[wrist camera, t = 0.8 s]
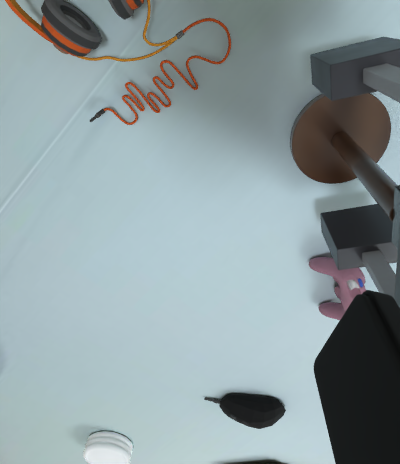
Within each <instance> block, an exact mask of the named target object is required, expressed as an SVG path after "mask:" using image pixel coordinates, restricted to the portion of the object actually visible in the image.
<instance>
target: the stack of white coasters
mask: <svg viewBox="0 0 400 464" xmlns="http://www.w3.org/2000/svg"><path fill="white" fill-rule="evenodd" d="M132 451H133V445H132V443H131V441H130V440H129V439H128V438H127V437H125V436H123V435H121V434H118V433H115V432H109V431H101V432H96V433H94V434H92V435H90V436H89V438H88V439H87V443H86V445H85V449H84V451H83V456H84V458H85V460H86V461H87V462H88V463H89V464H129V463H130V461H131V456H132Z"/></svg>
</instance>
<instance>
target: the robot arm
mask: <svg viewBox="0 0 400 464" xmlns="http://www.w3.org/2000/svg"><path fill="white" fill-rule="evenodd" d="M314 374H315V378H316V382H317V387H318V391H319V395H320V399H321V404H322V408H323V412H324V416H325V420H326V425H327V429H328V433H329V437H330V442H331V446H332V450H333V454H334V458H335V463H336V464H400V308H399V306H398V304H397V303H396V301H395V299H394V298H393V297H392V296H391V295H388V294H384V293H379V292H374V291H370V290H367V291H365V292H363V293H362V294H358V295H356V296H355V298H354V299H353V301H352V302H351V304H350V305H349V307H348V309H347V310H346V312H345V313H344V315H343V316H342V318H341V320H340V321H339V323H338V324H337V326H336V328H335V329H334V331H333V332H332V334H331V336H330V337H329V339H328V340H327V342H326V343H325V345H324V347H323V348H322V350H321V351H320V353H319V355H318V356H317V358H316V360H315V363H314Z"/></svg>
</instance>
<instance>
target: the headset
mask: <svg viewBox="0 0 400 464" xmlns="http://www.w3.org/2000/svg"><path fill="white" fill-rule="evenodd" d="M310 57H311V73H312V84H313V85H314V86H315V87H316V88H317V89H318V90H320V91H321V92H322V93H323V94H324V95H325V96H326V97H328V98H329V99H330V100H331V101H335V100H339V99H344V98H349V97H353V96H358V95H362V94H367V93H372V92H376V91H379V92H381V93H382V94H384V95H386V96H388V97H390V98H392V99H394V100H396V101H397V102H399V103H400V39H394V38H388V37H380V38H376V39H372V40H368V41H364V42H360V43H356V44H351V45H347V46H343V47H339V48H335V49H331V50H327V51H323V52H319V53H315V54H311V55H310ZM392 226H393V222H392V221H391V220H390V219H389V217H388V216H387V215H386V214H385V212H384V211H383V210H382V208H381V207H380V206H379V205H378V204H374V205H368V206H362V207H356V208H350V209H344V210H337V211H331V212H325V213H321V227H322V233H323V236H324V238H325V241H326V243H327V245H328V248H329V250H330V252H331V255H332V257H333V259H334V262H335V264H336V266H337V269H338V270H344V269H351V268H359V267H366V269H367V271H368V272H369V274H370V276H371V278H372V280H373V282H374V284H375V285H376V287H377V289H378V291H379V293H384V294H388V295H391V296H392V297H393V298H394V299H395V301H396V303H397V304H398V306H399V308H400V225H399V240H398V250H397V248H396V247H395V245H394V244H393V243H392ZM396 262H397V268H396V274H395V273H394V271H393V270H392V268H391V267H390V265H389V263H396Z"/></svg>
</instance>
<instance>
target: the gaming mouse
mask: <svg viewBox="0 0 400 464" xmlns="http://www.w3.org/2000/svg"><path fill="white" fill-rule="evenodd" d="M204 400H208V401H213V402H214V403H219V404H220V408H221V409H222V411H223V412H224V413H225V414H226V415H227V416H228V417H230V418H232V419H234V420H235V421H237V422H239V423H242V424H244V425H246V426H249V427H253V428H258V429H261V428H265V427H269V426H272V425H273V424H274V423H276V422H277V421H278V420H279V419H280V418H281V417H282V416H283V415H284V413H285V411H286V410H285V408H284V406H283V405H282V403H281V402H280V401H278V400H276V399H273V398H270V397H266V396H256V395H246V394H230V395H226V396H225V397H224V398H223V399H222V400H221V401H220V400H218V399H210V398H206V397H205V399H204Z"/></svg>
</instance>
